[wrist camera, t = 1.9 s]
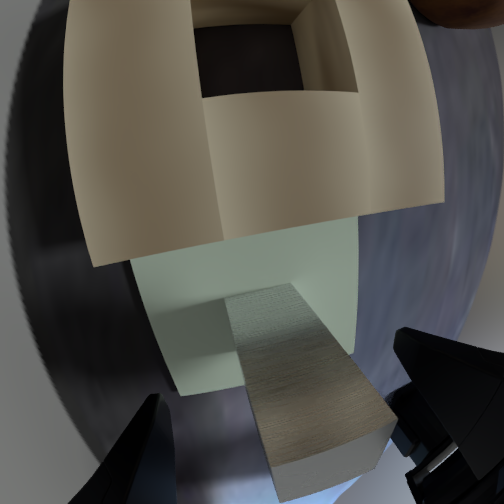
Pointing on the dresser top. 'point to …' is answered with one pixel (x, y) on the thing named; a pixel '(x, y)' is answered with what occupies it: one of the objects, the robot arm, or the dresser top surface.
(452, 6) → the wooden figurine
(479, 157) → the dresser top surface
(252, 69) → the dresser top surface
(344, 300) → the mat
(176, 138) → the hole block
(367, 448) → the pin
